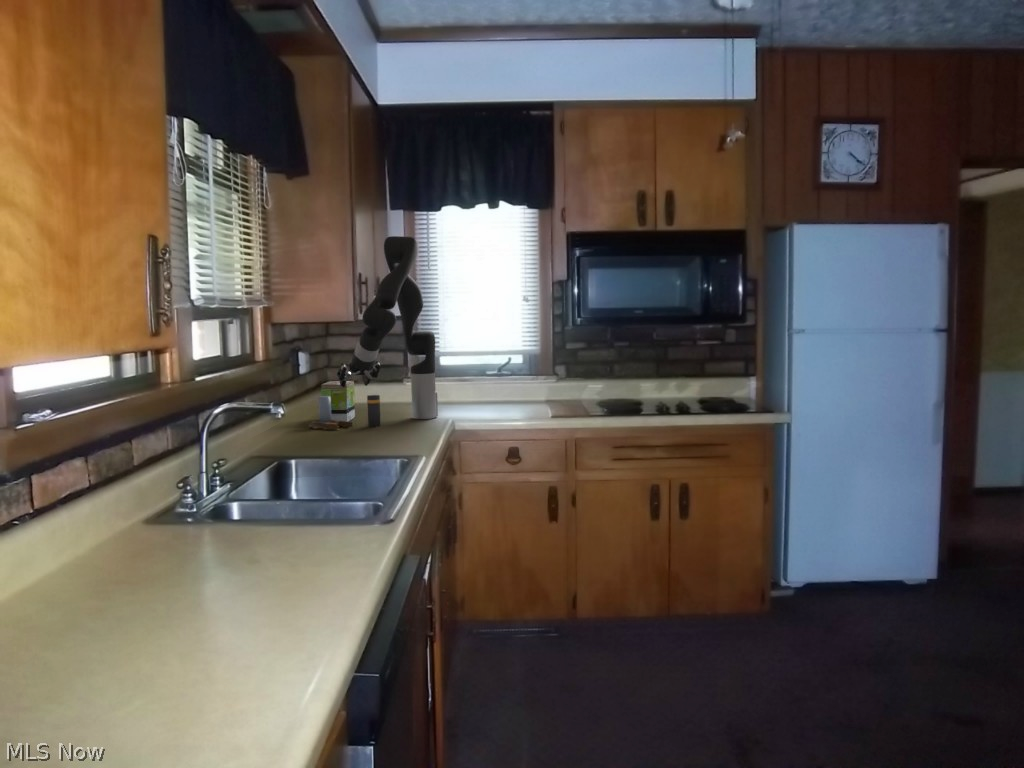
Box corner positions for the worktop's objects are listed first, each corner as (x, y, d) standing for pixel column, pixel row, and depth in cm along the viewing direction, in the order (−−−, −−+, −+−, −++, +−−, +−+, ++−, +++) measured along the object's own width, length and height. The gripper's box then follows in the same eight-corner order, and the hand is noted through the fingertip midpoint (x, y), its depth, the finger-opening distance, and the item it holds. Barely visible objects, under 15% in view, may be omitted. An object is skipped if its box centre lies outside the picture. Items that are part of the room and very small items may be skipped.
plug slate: (325, 425, 296) (324, 395, 295) (334, 426, 294) (333, 396, 293) (316, 427, 292) (315, 397, 291) (325, 428, 290) (323, 397, 289)
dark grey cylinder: (374, 424, 297) (373, 394, 296) (383, 425, 294) (382, 395, 293) (365, 426, 293) (364, 395, 292) (374, 427, 290) (373, 396, 289)
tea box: (348, 423, 302) (346, 383, 301) (321, 423, 302) (319, 384, 301) (355, 417, 317) (354, 379, 316) (330, 418, 317) (328, 380, 316)
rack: (325, 424, 299) (325, 418, 299) (352, 427, 291) (352, 421, 291) (309, 427, 292) (308, 421, 292) (335, 430, 284) (335, 423, 284)
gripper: (381, 344, 280) (369, 375, 290) (342, 345, 272) (331, 377, 282) (389, 360, 276) (375, 391, 286) (349, 362, 268) (337, 394, 278)
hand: (353, 384), depth 284 cm, fingers open, 8 cm apart
